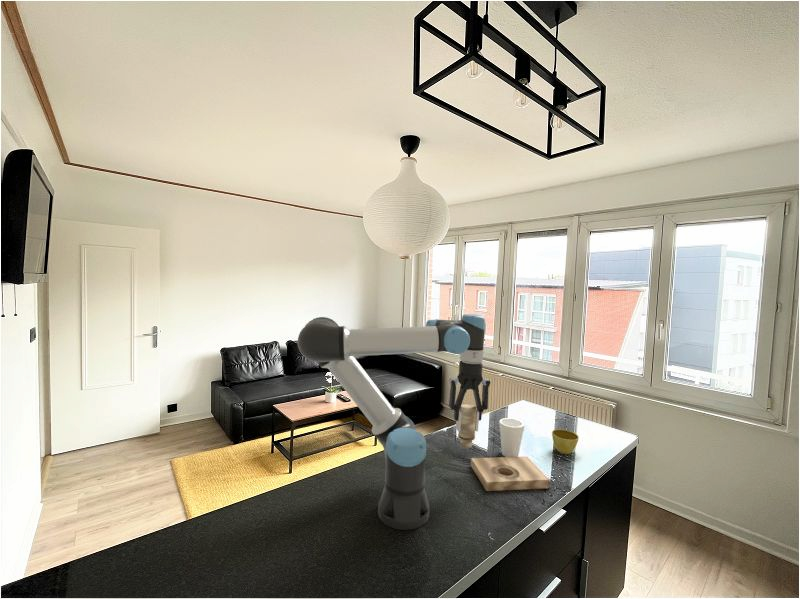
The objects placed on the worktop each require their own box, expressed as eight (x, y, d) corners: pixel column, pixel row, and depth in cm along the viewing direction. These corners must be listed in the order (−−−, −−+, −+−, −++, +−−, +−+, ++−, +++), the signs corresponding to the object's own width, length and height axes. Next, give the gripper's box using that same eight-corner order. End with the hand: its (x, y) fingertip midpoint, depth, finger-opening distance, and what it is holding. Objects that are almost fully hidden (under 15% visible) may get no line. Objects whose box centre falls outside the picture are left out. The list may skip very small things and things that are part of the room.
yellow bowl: (580, 458, 147) (582, 441, 146) (554, 455, 148) (555, 438, 148) (573, 447, 157) (574, 430, 156) (548, 444, 158) (549, 428, 158)
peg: (460, 449, 121) (462, 410, 120) (455, 441, 126) (457, 404, 126) (476, 448, 122) (479, 410, 121) (471, 441, 127) (473, 404, 126)
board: (486, 491, 122) (486, 482, 122) (470, 466, 138) (471, 458, 137) (548, 488, 125) (549, 479, 125) (526, 464, 141) (526, 456, 140)
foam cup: (523, 461, 143) (525, 428, 142) (498, 458, 144) (500, 425, 144) (520, 450, 152) (522, 419, 151) (497, 447, 154) (499, 416, 153)
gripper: (447, 363, 117) (443, 434, 119) (502, 364, 120) (497, 434, 121) (441, 358, 125) (437, 425, 126) (493, 359, 127) (488, 424, 129)
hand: (466, 429), depth 124 cm, fingers closed on peg, 5 cm apart
